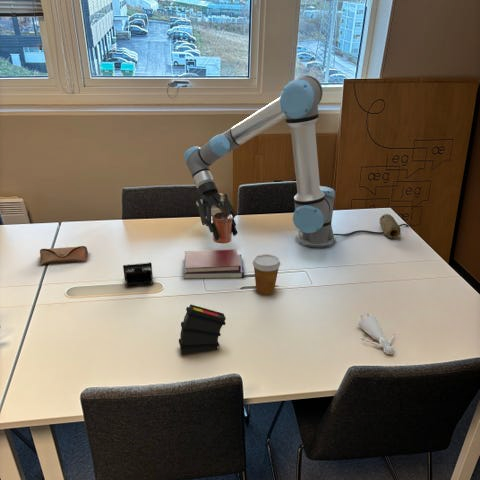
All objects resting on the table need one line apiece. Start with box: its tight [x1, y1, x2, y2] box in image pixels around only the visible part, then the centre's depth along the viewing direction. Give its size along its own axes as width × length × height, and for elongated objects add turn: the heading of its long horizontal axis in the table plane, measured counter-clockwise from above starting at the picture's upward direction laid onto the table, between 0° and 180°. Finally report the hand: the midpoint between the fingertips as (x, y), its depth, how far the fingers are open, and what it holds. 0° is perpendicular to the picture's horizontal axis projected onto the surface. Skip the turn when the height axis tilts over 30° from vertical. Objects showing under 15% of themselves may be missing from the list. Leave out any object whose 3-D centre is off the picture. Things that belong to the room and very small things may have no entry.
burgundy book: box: [184, 249, 241, 273], centre depth 189 cm, size 20×14×2 cm
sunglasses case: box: [38, 245, 89, 266], centre depth 195 cm, size 18×7×7 cm, turn 104°
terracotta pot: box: [211, 211, 233, 245], centre depth 199 cm, size 8×8×10 cm
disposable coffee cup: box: [252, 254, 281, 296], centre depth 175 cm, size 10×10×12 cm
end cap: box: [122, 261, 154, 289], centre depth 180 cm, size 10×7×7 cm
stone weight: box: [379, 213, 402, 239], centre depth 220 cm, size 15×7×7 cm, turn 5°
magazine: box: [178, 303, 227, 356], centre depth 145 cm, size 4×13×15 cm, turn 106°
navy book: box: [183, 254, 245, 280], centre depth 190 cm, size 22×15×3 cm
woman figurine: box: [358, 313, 396, 355], centre depth 153 cm, size 12×4×18 cm
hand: (226, 236), depth 198 cm, fingers closed on terracotta pot, 8 cm apart
